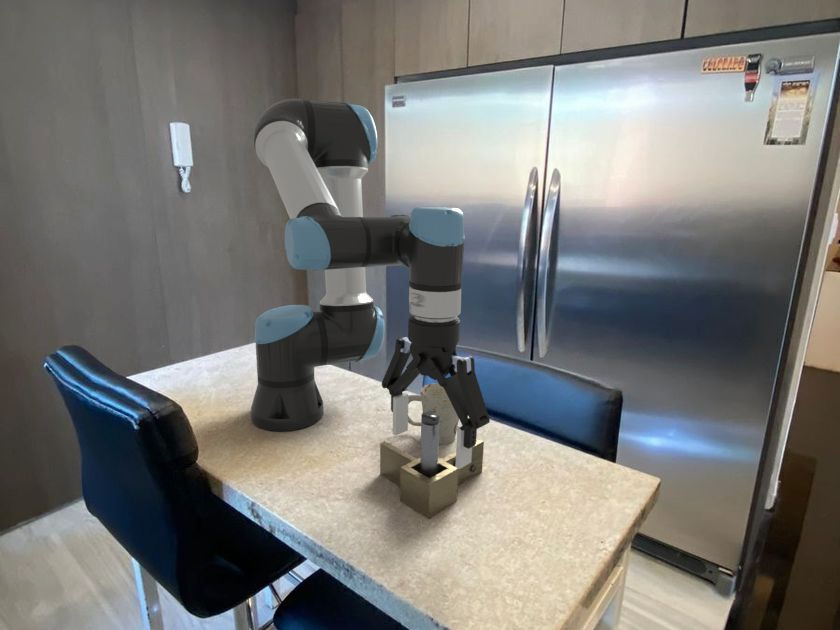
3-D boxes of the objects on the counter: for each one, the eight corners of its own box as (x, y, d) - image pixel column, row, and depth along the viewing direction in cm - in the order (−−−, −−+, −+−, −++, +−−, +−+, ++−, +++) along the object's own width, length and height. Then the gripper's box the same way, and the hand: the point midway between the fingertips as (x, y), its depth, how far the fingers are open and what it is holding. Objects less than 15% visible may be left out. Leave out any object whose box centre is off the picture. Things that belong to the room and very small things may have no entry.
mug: (458, 449, 99) (460, 401, 97) (394, 441, 101) (395, 394, 99) (463, 430, 107) (465, 384, 104) (404, 423, 109) (405, 378, 107)
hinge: (368, 480, 88) (368, 448, 87) (434, 447, 100) (435, 418, 98) (428, 519, 79) (429, 484, 77) (494, 478, 90) (496, 446, 88)
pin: (415, 501, 83) (417, 415, 79) (427, 494, 85) (430, 409, 81) (428, 509, 81) (430, 421, 77) (440, 501, 83) (443, 415, 79)
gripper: (359, 303, 81) (360, 427, 86) (486, 340, 64) (477, 491, 70) (395, 297, 86) (393, 414, 92) (521, 329, 69) (510, 470, 75)
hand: (430, 447), depth 81 cm, fingers open, 13 cm apart
